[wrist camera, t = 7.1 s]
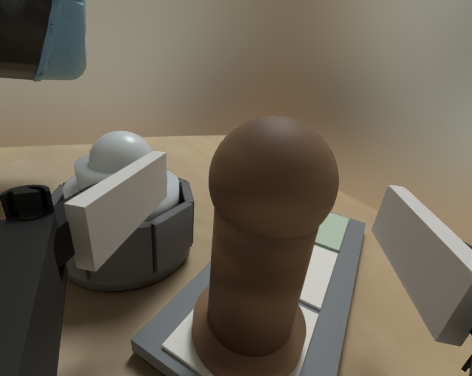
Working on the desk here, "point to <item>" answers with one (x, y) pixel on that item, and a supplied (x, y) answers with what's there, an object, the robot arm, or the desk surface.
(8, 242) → the robot arm
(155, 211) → the pop-up dome
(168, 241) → the dome base
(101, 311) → the desk surface
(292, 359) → the walnut pawn
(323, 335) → the game board
